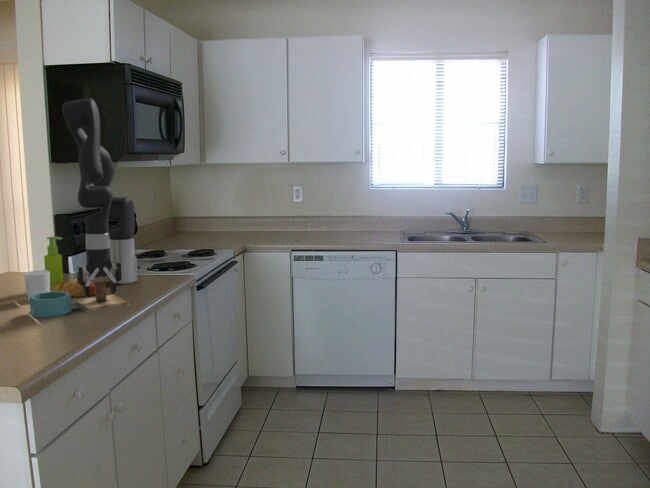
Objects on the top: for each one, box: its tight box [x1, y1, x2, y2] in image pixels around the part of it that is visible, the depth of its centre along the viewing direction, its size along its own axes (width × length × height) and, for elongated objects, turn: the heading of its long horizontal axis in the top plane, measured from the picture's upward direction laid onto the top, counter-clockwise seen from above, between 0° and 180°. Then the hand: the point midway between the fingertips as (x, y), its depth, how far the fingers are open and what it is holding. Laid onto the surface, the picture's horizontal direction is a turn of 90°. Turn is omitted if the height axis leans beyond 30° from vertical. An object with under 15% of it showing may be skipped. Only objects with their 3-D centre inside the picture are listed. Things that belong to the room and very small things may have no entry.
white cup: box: [23, 269, 50, 302], centre depth 209 cm, size 8×8×10 cm
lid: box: [74, 280, 129, 312], centre depth 203 cm, size 13×13×8 cm
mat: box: [71, 301, 132, 313], centre depth 204 cm, size 15×15×1 cm
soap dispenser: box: [43, 236, 64, 288], centre depth 224 cm, size 6×7×20 cm
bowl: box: [29, 291, 73, 320], centre depth 193 cm, size 11×11×6 cm
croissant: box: [50, 277, 96, 298], centre depth 217 cm, size 21×10×8 cm, turn 93°
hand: (100, 295), depth 203 cm, fingers open, 7 cm apart
